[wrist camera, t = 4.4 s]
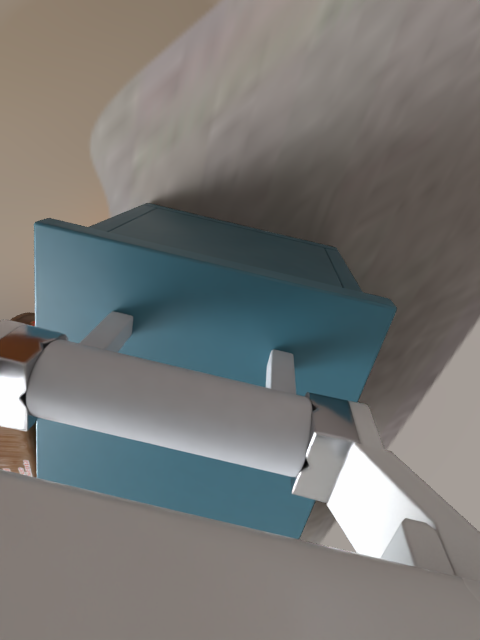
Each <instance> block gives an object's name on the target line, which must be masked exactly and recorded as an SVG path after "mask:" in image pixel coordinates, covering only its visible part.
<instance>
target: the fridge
mask: <svg viewBox="0 0 480 640" xmlns="http://www.w3.org/2000/svg"><path fill="white" fill-rule="evenodd" d="M89 228H94V229H98V230H102V231H106V232H110V233H115V234H119V235H123V236H127V237H131V238H136V239H140V240H144V241H148V242H153V243H157V244H161V245H165V246H169V247H174V248H178V249H182V250H186V251H190V252H195V253H199V254H203V255H207V256H212V257H216V258H220V259H224V260H228V261H233V262H237V263H241V264H245V265H249V266H254V267H258V268H262V269H266V270H270V271H275V272H279V273H283V274H287V275H292V276H296V277H300V278H304V279H308V280H313V281H317V282H321V283H325V284H329V285H334V286H338V287H342V288H346V289H351V290H355V291H359V292H362V290H361V289H360V287H359V285H358V283H357V282H356V280H355V278H354V277H353V275H352V273H351V272H350V270H349V268H348V267H347V265H346V263H345V261H344V260H343V258H342V256H341V255H340V253H339V252H338V250H337V248H335V247H331V246H327V245H323V244H319V243H314V242H310V241H306V240H302V239H298V238H293V237H289V236H285V235H281V234H277V233H272V232H268V231H264V230H260V229H256V228H251V227H247V226H243V225H239V224H235V223H230V222H226V221H222V220H218V219H214V218H209V217H205V216H201V215H197V214H193V213H188V212H184V211H180V210H176V209H172V208H167V207H163V206H159V205H155V204H151V203H146V204H144V205H141V206H138V207H136V208H133V209H131V210H129V211H126V212H124V213H121V214H119V215H116V216H114V217H112V218H109V219H107V220H104V221H102V222H100V223H97V224H95V225H92V226H90V227H89Z"/></svg>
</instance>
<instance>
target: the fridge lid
mask: <svg viewBox="0 0 480 640" xmlns="http://www.w3.org/2000/svg"><path fill="white" fill-rule="evenodd" d="M34 265H35V266H34V269H35V270H34V271H35V272H34V273H35V327H39V328H43V329H47V330H51V331H55V332H59V333H63V334H66V336H67V337H68V341H66V340H62V339H61V340H56V341H53V342H51V343H50V344H49V345H48V346H47V347H46V348H45V349H44V351H43V352H42V353H41V355H40V356H39V358H38V360H37V362H36V364H35V366H34V368H33V370H32V373H31V376H30V379H29V383H28V388H27V391H26V405H27V408H28V411H29V412H30V414H32V415H33V416H35V417H38V418H39V419H38V420H37V421H36V462H37V478H40V479H44V480H48V481H53V482H57V483H61V484H66V485H70V486H74V487H78V488H83V489H87V490H91V491H95V492H99V493H104V494H108V495H112V496H116V497H121V498H125V499H129V500H133V501H138V502H142V503H146V504H150V505H155V506H159V507H163V508H167V509H172V510H176V511H180V512H184V513H188V514H193V515H197V516H201V517H205V518H210V519H214V520H218V521H223V522H227V523H231V524H235V525H240V526H244V527H248V528H252V529H257V530H261V531H265V532H270V533H274V534H278V535H282V536H287V537H291V538H295V539H300V536H301V534H302V532H303V529H304V527H305V524H306V522H307V520H308V517H309V515H310V513H311V510H312V508H313V506H314V503H315V501H316V500H313V499H309V498H306V497H302V496H298V495H294V494H291V477H295V476H296V475H297V474H298V473H299V471H301V469H302V467H303V464H304V462H305V459H306V457H305V454H306V451H307V446H308V442H309V436H310V429H311V415H312V404H311V401H310V400H309V398H307V397H304V396H305V394H306V392H310V393H314V394H319V395H324V396H329V397H333V398H338V399H343V400H348V401H353V402H358V400H359V398H360V395H361V393H362V391H363V388H364V386H365V383H366V381H367V379H368V376H369V374H370V372H371V369H372V367H373V365H374V362H375V360H376V358H377V355H378V353H379V351H380V348H381V346H382V344H383V341H384V339H385V336H386V334H387V332H388V329H389V327H390V325H391V322H392V320H393V318H394V315H395V313H396V311H397V307H396V306H395V305H394V303H393V302H392V301H391V300H390V299H388V298H384V297H380V296H376V295H372V294H367V293H363V292H359V291H355V290H351V289H346V288H342V287H338V286H334V285H329V284H325V283H321V282H317V281H313V280H308V279H304V278H300V277H296V276H292V275H287V274H283V273H279V272H275V271H270V270H266V269H262V268H258V267H254V266H249V265H245V264H241V263H237V262H233V261H228V260H224V259H220V258H216V257H212V256H207V255H203V254H199V253H195V252H190V251H186V250H182V249H178V248H174V247H169V246H165V245H161V244H157V243H153V242H148V241H144V240H140V239H136V238H131V237H127V236H123V235H119V234H115V233H110V232H106V231H102V230H98V229H94V228H89V227H85V226H81V225H77V224H72V223H68V222H64V221H60V220H55V219H51V218H47V219H44V220H40V221H37V222H35V224H34Z"/></svg>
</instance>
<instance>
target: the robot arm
mask: <svg viewBox="0 0 480 640" xmlns="http://www.w3.org/2000/svg"><path fill="white" fill-rule="evenodd" d="M61 339H62V340H66V341H68V337H67V336H66V334H63V333H59V332H55V331H51V330H47V329H43V328H39V327H35V326H32V325H28V324H24V323H20V322H16V321H11V320H0V426H2V427H7V428H12V429H17V430H22V431H28V430H29V429H30V428H31V427H32V426H33V425H34V423H35V422H36V421H37V420H38V419H39V418H38V417H35V416H33V415H32V414H30V412H29V411H28V408H27V405H26V391H27V388H28V383H29V379H30V376H31V373H32V370H33V368H34V366H35V364H36V362H37V360H38V358H39V356H40V355H41V353H42V352H43V351H44V349H45V348H46V347H47V346H48V345H49V344H50V343H51V342H53V341H56V340H61ZM304 397H307V398H309V400H310V401H311V404H312V415H311V429H310V436H309V442H308V446H307V451H306V454H305V457H306V459H305V462H304V464H303V467H302V469H301V471H299V473H298V474H297V475H296V476H295V477H291V494H294V495H298V496H302V497H306V498H309V499H313V500H317V501H321V502H325V503H327V506H328V507H329V509H330V511H331V512H332V514H333V515H334V517H335V519H336V520H337V522H338V523H339V525H340V526H341V528H342V530H343V531H344V533H345V534H346V536H347V538H348V539H349V541H350V542H351V544H352V545H353V547H354V549H355V550H356V552H357V553H355V552H351V551H346V550H342V549H338V548H333V547H329V546H325V545H321V544H317V543H312V542H308V541H304V540H299V539H295V538H291V537H287V536H282V535H278V534H274V533H270V532H265V531H261V530H257V529H252V528H248V527H244V526H240V525H235V524H231V523H227V522H223V521H218V520H214V519H210V518H205V517H201V516H197V515H193V514H188V513H184V512H180V511H176V510H172V509H167V508H163V507H159V506H155V505H150V504H146V503H142V502H138V501H133V500H129V499H125V498H121V497H116V496H112V495H108V494H104V493H99V492H95V491H91V490H87V489H83V488H78V487H74V486H70V485H66V484H61V483H57V482H53V481H48V480H44V479H40V478H36V477H31V476H27V475H23V474H18V473H14V472H10V471H6V470H1V469H0V640H480V532H479V531H478V530H477V529H476V528H475V527H473V526H472V525H471V524H470V523H469V522H468V521H467V520H466V519H465V518H464V517H463V516H461V515H460V514H459V513H458V512H457V511H456V510H455V509H453V507H452V506H451V505H449V504H448V503H447V502H446V501H445V500H444V499H443V498H442V497H441V496H440V495H438V494H437V493H436V492H435V491H434V490H433V489H432V488H431V487H430V486H429V485H427V484H426V483H425V482H424V481H423V480H422V479H421V478H420V477H419V476H418V475H417V474H415V473H414V472H413V471H412V470H411V469H410V468H409V467H408V466H407V465H406V464H404V463H403V462H402V461H401V460H400V459H399V458H398V457H397V456H396V455H394V454H393V453H392V452H391V451H388V450H385V449H384V446H383V444H382V441H381V438H380V435H379V433H378V430H377V427H376V424H375V422H374V419H373V416H372V414H371V411H370V408H369V406H368V405H367V404H363V403H358V402H353V401H348V400H343V399H338V398H333V397H329V396H324V395H319V394H314V393H310V392H306V394H305V396H304Z"/></svg>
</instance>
